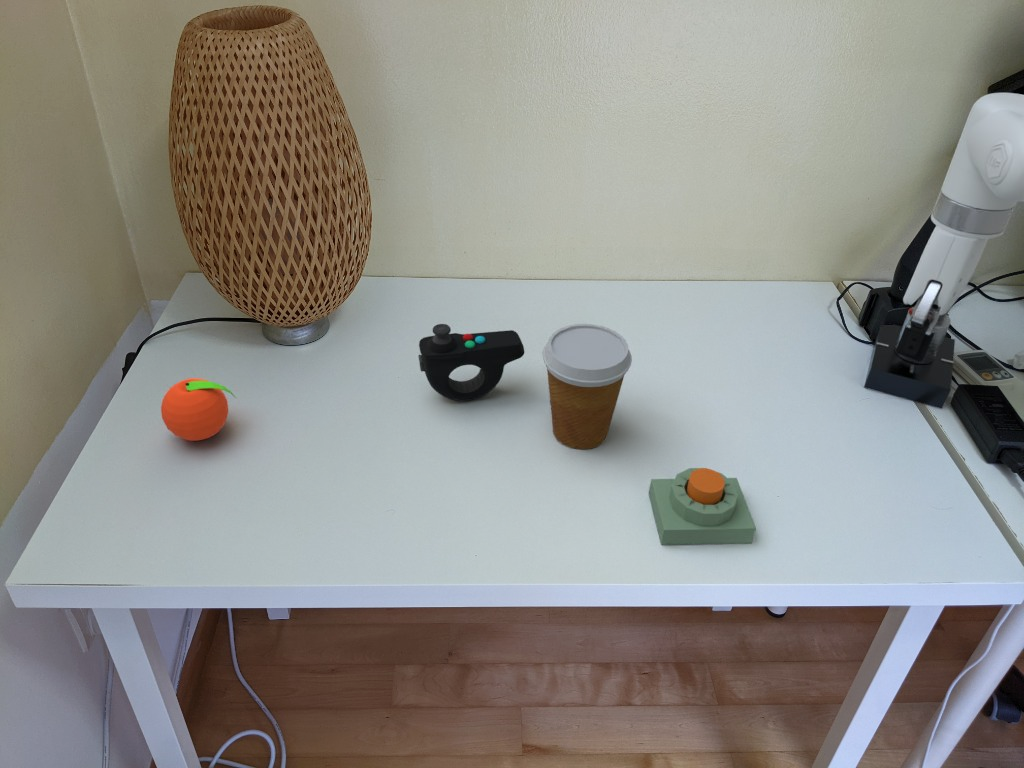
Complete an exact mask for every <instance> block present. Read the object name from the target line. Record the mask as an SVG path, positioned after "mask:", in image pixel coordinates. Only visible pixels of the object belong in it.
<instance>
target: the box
mask: <svg viewBox="0 0 1024 768" xmlns="http://www.w3.org/2000/svg"><path fill="white" fill-rule="evenodd" d="M701 468H702V467H689V468H687V469H685V470H683V471H680V472H679V473H677V474H676V475H675V477H674V478H651V480H650V484H649V490H648V497H649V502H650V506H651V509H652V514H653V518H654V521H655V525H656V529H657V533H658V537H659V542H660V545H661V546H673V545H674V546H675V545H680V546H681V545H726V544H727V545H729V544H731V545H732V544H735V545H736V544H752V542H753V539H754V536H755V533H756V529H757V528H756V525H755V522H754V520H753V517H752V515H751V511H750V509H749V506H748V504H747V501H746V499H745V496H744V494H743V491H742V488H741V486H740V483H739V480H738V478H737V477H727V476H726V475H724V474H723V473H721V472H719V471H717V472H718V473H719V474H720V475H721V476H722V477H723V479H724V481H725V486H724V490H723V494H722V497H721V500H720V501H719V502H717V503H716V504H713V505H703V504H701V503H698V502H695V501H693V500H692V499H691V498H690V497H689V495H688V493H687V487H688V482H689V477H690V474H691V473H692V472H693V471H695V470H697V469H701ZM705 468H706V469H708V468H707V467H705Z"/></svg>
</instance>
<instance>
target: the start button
mask: <svg viewBox="0 0 1024 768" xmlns="http://www.w3.org/2000/svg"><path fill="white" fill-rule="evenodd" d="M700 468H701V469H697V470H695V471H693V472H692V473H691V474H690V477H689V482H688V487H687V493H688V495H689V497H690V498H691V499H692V500H693V501H695V502H698V503H701V504H703V505H713V504H716V503H717V502H719V501H720V500H721V497H722V494H723V490H724V486H725V481H724V479H723V477H722V476H721V475H720V474H719V473H720V472H719V471H716V470H713V469H711V468H707V467H700ZM706 468H707V469H706ZM718 472H719V473H718Z"/></svg>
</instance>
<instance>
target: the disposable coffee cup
mask: <svg viewBox="0 0 1024 768" xmlns="http://www.w3.org/2000/svg"><path fill="white" fill-rule="evenodd" d="M542 359H543V363H544V365H545V368H546V371H547V381H548V383H547V384H548V393H549V402H550V403H549V404H550V411H551V412H550V415H551V423H552V433H553V436H554V438H555V439H556V441H558V442H559V443H560V444H562V445H563V446H566V447H568V448H570V449H575V450H590V449H595V448H596V447H597V448H598V447H599V446H601V445H602V444H603V443H605V441H606V439H607V437H608V435H609V434H608V433H609V430H610V426H611V423H612V419H613V416H614V413H615V409H616V406H617V403H618V399H619V396H620V392H621V389H622V385H623V381H624V378H625V375H626V374H627V372H628V371H629V369H630V368H631V366H632V361H633V357H632V353H631V351H630V348H629V344H628V342H627V340H626V339H625V338H624V337H623V336H622V335H621V334H620V333H618V332H617V331H616V330H613V329H611V328H609V327H607V326H606V327H605V326H604V325H599V324H592V323H575V324H570V325H565V326H562V327H560V328H558V329H556V330H555V331H554V332H552V334H551V335H550V336H549V338H548V341H547V342H546V344H545V345H544V347H543V348H542Z"/></svg>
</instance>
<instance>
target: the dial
mask: <svg viewBox="0 0 1024 768" xmlns="http://www.w3.org/2000/svg"><path fill="white" fill-rule="evenodd" d="M914 308H915V306H912V307H910V308H909V309H908V311H907V313H906V316H905V318H904V322H903V324H902V325H901V326H902V329H901V331H900V334H899V337H898V339H897V342H896V344H895V347H894V350H895V352H896V349H897V347H898V344H899V341H900V339H901V336H902V334H903V331H904V329H905V326H906V325H907V323H908V321H909V319H910V317H911V314H912V312H913V310H914ZM947 314H948V313H946V314H944V315H940V316H939V318H938V321H937V323H936V325H935V327H934V329H933V331H932V333H934V336H933V338H932V341H931V343H930V346H929V348H928V350H927V353H926V355H925V357H924V359H923V361H921V362H919V361H916V360H914V359H911V358H908V357H906V356H903V355H900V354H898V353H897V352H896V354H897V355H898V356H900V357H901V358H903V359H904V360H907V361H909V362H912V363H917V364H928V363H931V362H933V361H934V360H935V358H936V355H937V353H938V351H939V348H940V346H941V344H942V341H943V339H944V337H946V334H947V333H948V330H949V327H950V325H951V323H952V322H951V318H950V316H948V315H947ZM932 317H933V315H932V314H928V316H927V319H929V320H930V321H929V323H930V322H931V319H932Z"/></svg>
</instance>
